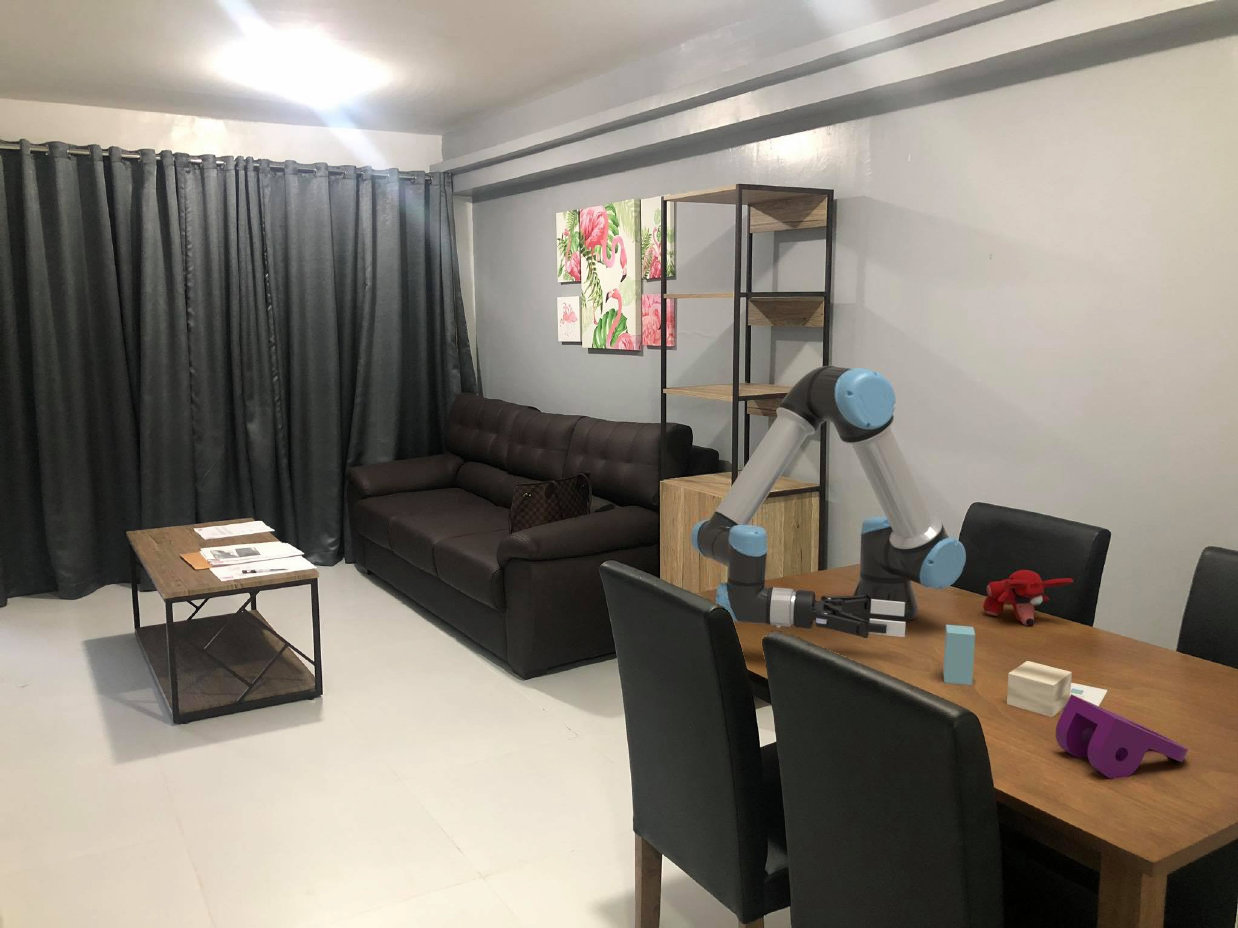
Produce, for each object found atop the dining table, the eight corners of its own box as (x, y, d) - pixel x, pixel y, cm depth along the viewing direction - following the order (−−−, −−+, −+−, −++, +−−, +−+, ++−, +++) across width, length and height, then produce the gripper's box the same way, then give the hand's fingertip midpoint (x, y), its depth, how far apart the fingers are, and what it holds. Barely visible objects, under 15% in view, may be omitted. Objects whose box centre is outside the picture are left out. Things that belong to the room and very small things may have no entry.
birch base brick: (1025, 691, 182) (1027, 660, 181) (1069, 703, 177) (1071, 671, 175) (1006, 704, 177) (1008, 673, 176) (1051, 717, 171) (1053, 685, 170)
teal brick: (943, 673, 192) (945, 624, 190) (970, 676, 190) (973, 626, 189) (944, 682, 187) (947, 632, 185) (972, 685, 186) (975, 635, 184)
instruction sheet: (1056, 680, 188) (1056, 678, 188) (1107, 691, 183) (1107, 689, 183) (1041, 700, 178) (1041, 698, 178) (1095, 712, 173) (1095, 710, 173)
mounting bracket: (1131, 777, 162) (1047, 742, 157) (1153, 730, 162) (1071, 694, 157) (1177, 806, 153) (1090, 769, 148) (1202, 756, 153) (1115, 718, 147)
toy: (976, 634, 227) (1017, 619, 212) (965, 582, 231) (1005, 564, 216) (1038, 631, 230) (1083, 617, 215) (1027, 580, 235) (1070, 563, 220)
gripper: (799, 608, 207) (903, 619, 202) (786, 646, 183) (904, 658, 178) (800, 574, 206) (905, 583, 201) (788, 607, 182) (906, 618, 177)
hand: (905, 619), depth 189 cm, fingers open, 13 cm apart
